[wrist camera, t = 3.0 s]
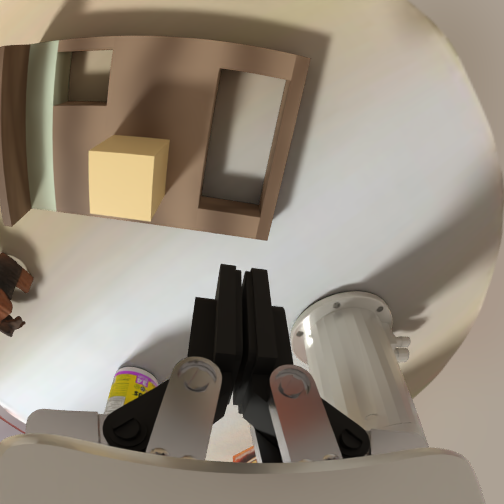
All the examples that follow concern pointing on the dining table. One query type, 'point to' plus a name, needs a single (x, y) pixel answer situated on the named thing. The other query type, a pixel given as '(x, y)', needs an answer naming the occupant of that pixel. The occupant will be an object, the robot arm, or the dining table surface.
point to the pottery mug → (11, 292)
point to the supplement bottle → (129, 387)
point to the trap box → (134, 125)
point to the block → (128, 176)
